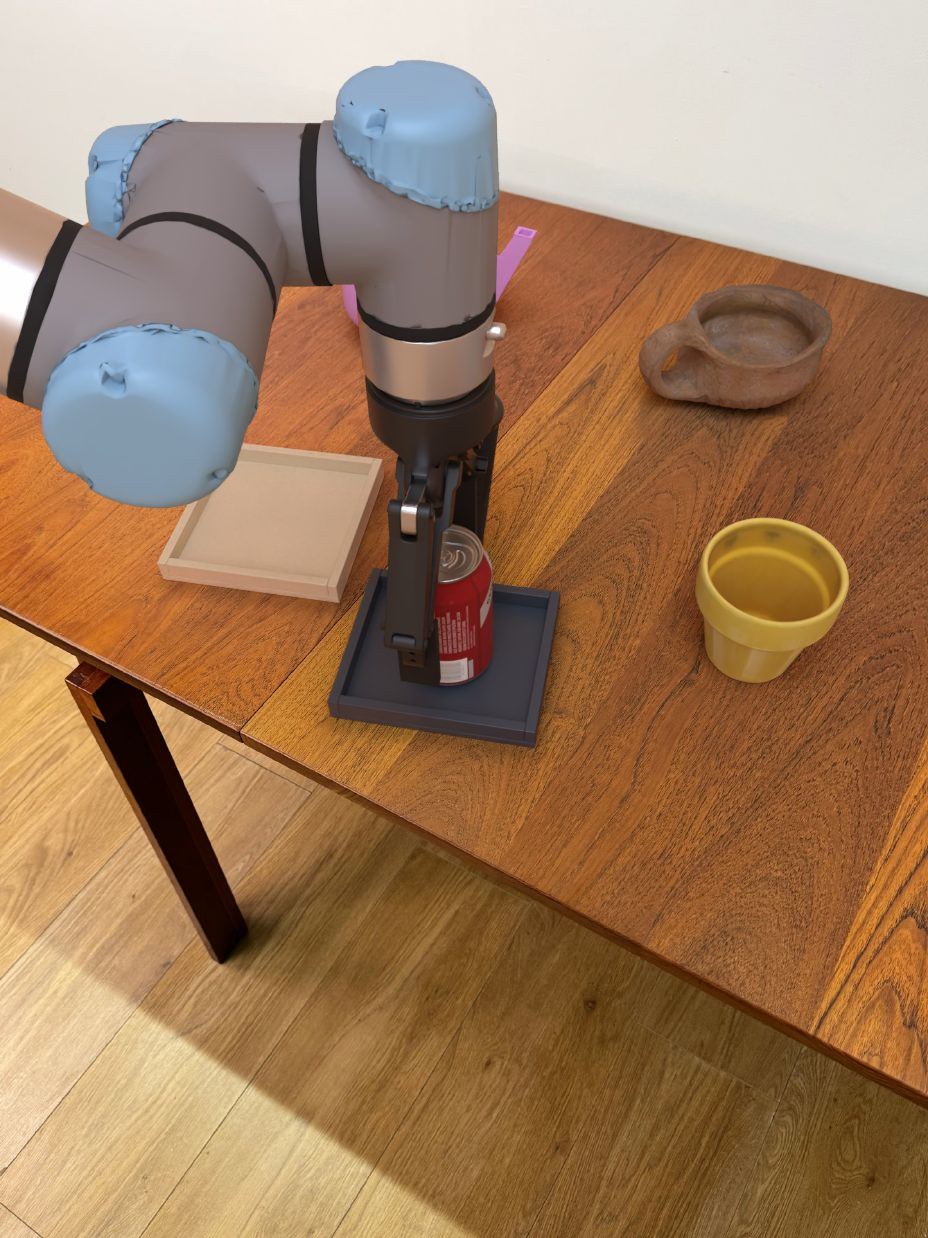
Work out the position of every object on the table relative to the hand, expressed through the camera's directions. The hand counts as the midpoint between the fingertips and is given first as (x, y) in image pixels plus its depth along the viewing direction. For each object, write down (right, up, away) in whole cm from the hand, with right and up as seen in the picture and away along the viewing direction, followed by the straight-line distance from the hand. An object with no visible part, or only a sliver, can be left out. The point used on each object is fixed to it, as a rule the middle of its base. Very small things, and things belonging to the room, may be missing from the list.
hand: (441, 605), depth 73 cm
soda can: (+1, -4, +5) cm, 6 cm away
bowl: (+27, +21, +25) cm, 43 cm away
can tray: (+1, -4, +5) cm, 7 cm away
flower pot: (+24, -4, +5) cm, 25 cm away
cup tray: (-15, +7, +15) cm, 22 cm away
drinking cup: (+1, +5, +13) cm, 14 cm away
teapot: (-1, +29, +33) cm, 44 cm away
